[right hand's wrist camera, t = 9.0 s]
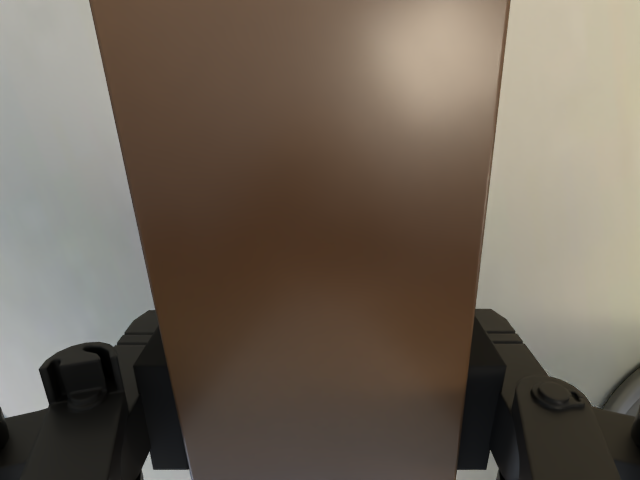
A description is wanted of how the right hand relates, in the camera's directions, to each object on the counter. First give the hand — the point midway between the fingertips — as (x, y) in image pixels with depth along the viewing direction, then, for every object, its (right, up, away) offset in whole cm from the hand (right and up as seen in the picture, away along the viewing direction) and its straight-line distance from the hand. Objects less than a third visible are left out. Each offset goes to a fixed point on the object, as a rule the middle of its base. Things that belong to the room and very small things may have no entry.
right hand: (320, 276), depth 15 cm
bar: (-1, +27, -10) cm, 29 cm away
